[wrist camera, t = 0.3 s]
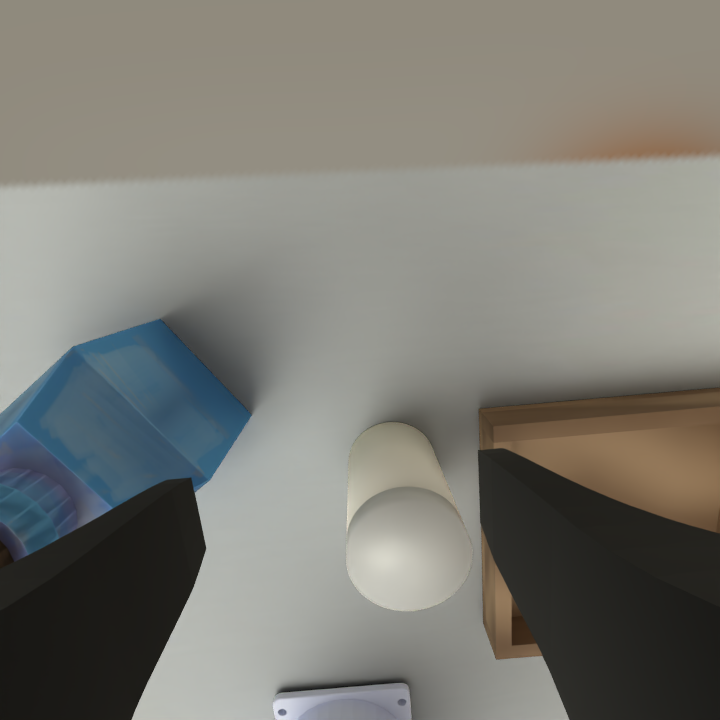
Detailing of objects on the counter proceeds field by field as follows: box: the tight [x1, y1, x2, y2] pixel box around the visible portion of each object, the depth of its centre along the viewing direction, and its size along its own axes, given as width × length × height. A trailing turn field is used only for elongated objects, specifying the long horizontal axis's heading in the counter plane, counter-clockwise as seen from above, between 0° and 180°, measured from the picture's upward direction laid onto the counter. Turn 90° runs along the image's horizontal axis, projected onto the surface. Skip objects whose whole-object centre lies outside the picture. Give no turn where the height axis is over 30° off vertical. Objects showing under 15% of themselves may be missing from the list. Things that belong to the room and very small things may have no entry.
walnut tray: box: [479, 388, 720, 659], centre depth 21 cm, size 13×13×2 cm
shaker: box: [346, 422, 473, 611], centre depth 18 cm, size 4×4×7 cm
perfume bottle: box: [0, 319, 252, 568], centre depth 15 cm, size 6×6×12 cm
